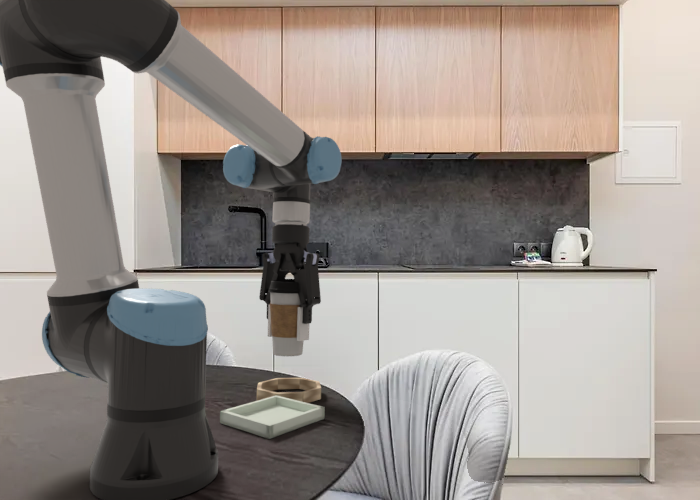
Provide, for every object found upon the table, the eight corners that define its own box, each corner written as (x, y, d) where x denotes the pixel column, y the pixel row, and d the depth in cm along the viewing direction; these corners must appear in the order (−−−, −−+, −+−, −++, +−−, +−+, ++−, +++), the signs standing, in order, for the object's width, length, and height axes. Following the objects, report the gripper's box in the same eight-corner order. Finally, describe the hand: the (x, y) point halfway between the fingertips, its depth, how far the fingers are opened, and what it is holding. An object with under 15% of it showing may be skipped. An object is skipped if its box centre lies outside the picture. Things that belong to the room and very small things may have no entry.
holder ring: (289, 409, 95) (289, 397, 95) (243, 397, 103) (244, 386, 103) (332, 395, 105) (333, 384, 105) (288, 385, 113) (288, 375, 113)
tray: (269, 439, 79) (269, 425, 79) (219, 423, 86) (220, 411, 86) (324, 418, 89) (324, 407, 89) (276, 405, 97) (276, 395, 97)
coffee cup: (311, 351, 107) (313, 279, 108) (304, 358, 99) (306, 280, 99) (272, 349, 108) (274, 278, 109) (261, 356, 100) (263, 279, 100)
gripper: (341, 224, 101) (339, 341, 100) (269, 227, 113) (266, 331, 113) (316, 221, 95) (313, 345, 94) (243, 224, 108) (239, 334, 107)
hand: (287, 337), depth 103 cm, fingers closed on coffee cup, 7 cm apart
